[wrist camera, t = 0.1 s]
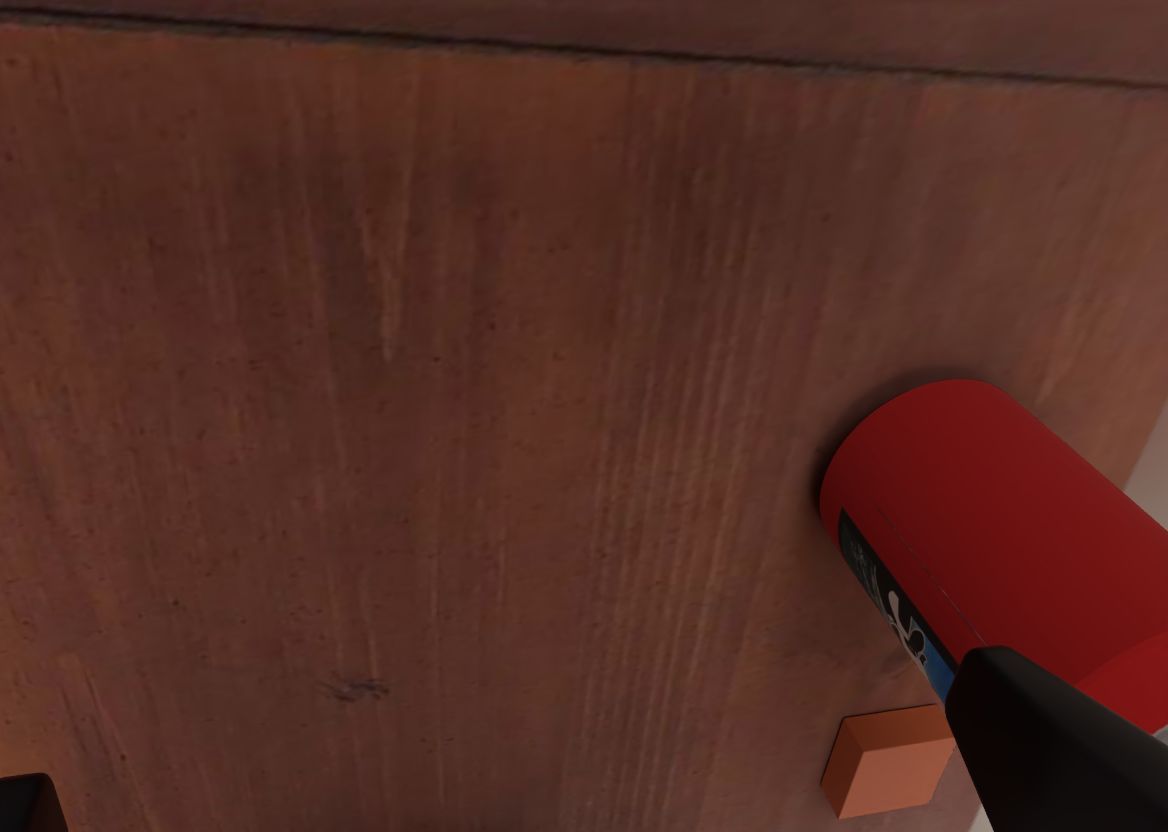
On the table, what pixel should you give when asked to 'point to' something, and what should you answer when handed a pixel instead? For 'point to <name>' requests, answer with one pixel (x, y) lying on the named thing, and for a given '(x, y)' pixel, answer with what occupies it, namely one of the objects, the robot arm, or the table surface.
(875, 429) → the beverage can
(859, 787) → the terracotta tile
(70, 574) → the table surface
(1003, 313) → the table surface
